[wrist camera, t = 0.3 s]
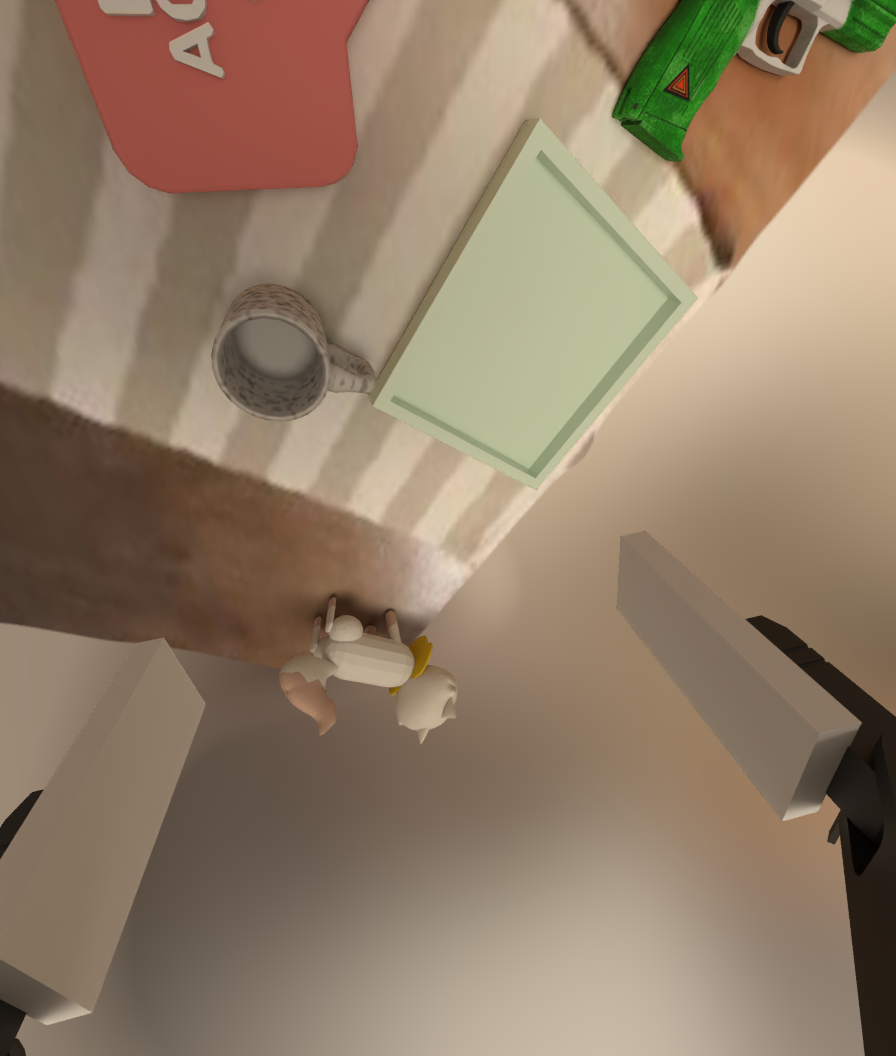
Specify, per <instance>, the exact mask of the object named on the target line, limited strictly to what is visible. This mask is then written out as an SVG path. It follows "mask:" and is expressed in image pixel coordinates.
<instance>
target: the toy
mask: <svg viewBox="0 0 896 1056" xmlns="http://www.w3.org/2000/svg"><path fill="white" fill-rule="evenodd" d="M335 605H336V598H335V597H333V598H331V600H330V601H329V604H328V612H327V619H326V627H325V631H326V632H327V633H328V632H329V636H325V637H323V638H321V639H320V640H319V636H320V628H321V620H322V619H321V617H317V618H316V619H315V621H314V624H313V631H312V638H311V645H310V651H311V652H313V655H314V656H312V655H301V656H297V657H295V658H292V659H293V660H290V661H289V662H287V663H286V664H284V665H283V667H282V669H281V671H280V674H279V682H280V685H281V687H282V689H283V691H284V692H285V695H286V697H287V698H289V700H290V702H291V703H292V704H293V705H294V706H296V707H297V708H298V709H300V710H301V711H303V712H305V713H307V714H308V715H310V716H312V717H313V718H315V720H316V721H317V723H318V730H319V735H322V734H324V733H326V731H327V730H328V729H329V728H330V727H331V726H332V725H334V723H335V721H336V706H335V704H334V702H333V700H332V699H331V698H329V697H328V695H327V694H326V693H325V692H326V679H327V678H328V677H329V676H331V675H334V676H336V677H338V678H339V679H344V680H349V681H355V682H361V683H366V684H372V685H377V686H383V687H389V692H390V694H391V695H394V694H396V693H397V697H396V702H395V709H396V715H397V717H398V719H399V720H398V723H399V725H405V726H406V727H408V728H410V729H413V730H417V731H418V736H419V740H420V743H421V744H422V742H423V740H424V738H425V737H426V735H427V733H428V730H429V729H433V728H435V727H437V726H439V725H440V724H442V723H443V722H444V721H445V720H446V719H447V718H457V717H456V712H455V707H454V704H455V701H456V698H457V691H458V688H457V682H456V679H455V678H454V676H453V675H452V674H451V673H450V672H448V671H447V670H445V669H443V668H440V667H437V666H432V665H427V664H428V661H429V659H430V656H431V652H432V647H433V646H432V643H428V641H427V637H426V636H421V637H419V638H417V639H416V640H415V641H414V642H413V643H412V644H411V645H410V646H409V648H408V647H407V646H406V645H405V644H403V643H402V642H401V638H400V633H399V628H398V623H397V618H396V614H395V612H394V611H391V610H390V611H388V612H387V613H386V614H385V619H386V624H387V630H388V636H389V639H387V638H383V637H379V636H377V631H376V627H375V626H372V625H369V626H367V627H366V629H365V630H364V633H363V627H362V624H361V623H360V621H359V620H358V619H357V618H355V617H353V616H350V615H342V616H340V617H337V618H336V619H335V620H334V614H335Z"/></svg>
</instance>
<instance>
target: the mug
mask: <svg viewBox="0 0 896 1056" xmlns="http://www.w3.org/2000/svg"><path fill="white" fill-rule="evenodd" d="M211 355H212V368H213V371H214V375H215V378H216V381H217V382H218V384H219V386H220V388H221V390H222V391H223V392H224V394H225V395H226V396H227V397H228V398H229V399H230V400H231V401H232V402H233V403H234V404H235V405H236V406H238V407H239V408H240V409H241V410H243V411H245V412H247V413H249V414H251V415H252V416H255V417H258V418H262V419H265V420H271V421H289V420H294V419H298V418H301V417H303V416H305V415H307V414H309V413H310V412H312V411H313V410H314V409H315V408H316V407H317V406H318V405H319V404H320V403H321V402H322V400H323V399H324V397H325V396H326V393H327V391H331V392H335V393H337V392H358V393H371V391H372V390H373V389H374V388H375V386H376V380H375V373H374V370H373V368H372V366H371V365H370V364H369V363H368V362H367V361H365V360H363V359H362V358H359V357H357V356H354V355H352V354H350V353H348V352H346V351H345V350H343V349H341V348H340V347H338V346H337V345H334V344H331V343H327V340H326V334H325V328H324V325H323V322H322V320H321V318H320V316H319V314H318V312H317V311H316V310H315V308H314V307H313V306H312V305H311V304H310V303H309V301H308V300H306V299H305V298H304V297H302V296H301V295H300V294H298V293H297V292H295V291H293V290H290V289H288V288H286V287H282V286H277V285H272V284H271V285H258V286H255V287H251V288H249V289H247V290H245V291H244V292H242V293H241V294H240V295H239V296H238V297H237V298H236V299H235V300H234V301H233V303H232V305H231V307H230V309H229V311H228V313H227V315H226V317H225V319H224V321H223V323H222V326H221V328H220V330H219V332H218V334H217V336H216V338H215V340H214V345H213V349H212V354H211Z"/></svg>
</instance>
